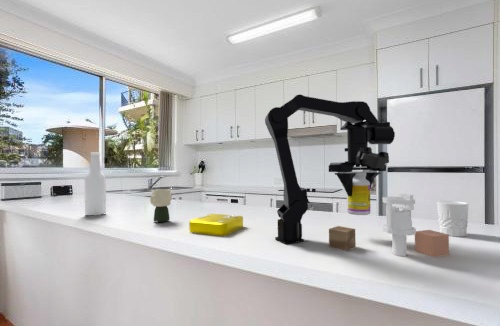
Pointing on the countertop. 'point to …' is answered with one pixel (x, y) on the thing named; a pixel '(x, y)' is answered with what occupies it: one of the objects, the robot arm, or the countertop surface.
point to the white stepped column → (399, 221)
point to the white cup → (453, 217)
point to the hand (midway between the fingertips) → (358, 195)
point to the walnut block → (342, 238)
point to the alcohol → (95, 187)
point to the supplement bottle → (359, 195)
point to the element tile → (216, 224)
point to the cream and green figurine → (161, 204)
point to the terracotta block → (432, 243)
